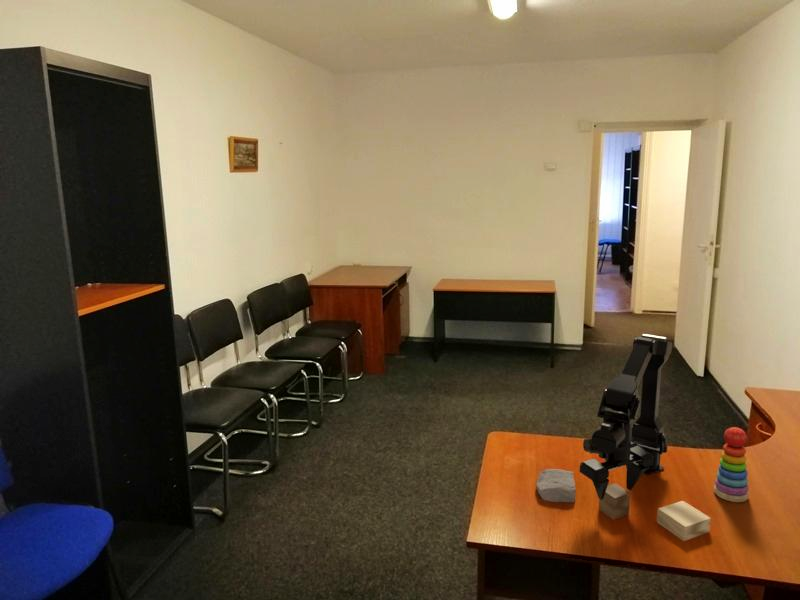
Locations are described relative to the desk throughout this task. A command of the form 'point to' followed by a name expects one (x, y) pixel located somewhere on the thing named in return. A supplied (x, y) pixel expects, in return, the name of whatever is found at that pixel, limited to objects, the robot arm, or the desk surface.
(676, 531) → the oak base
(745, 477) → the stacking toy
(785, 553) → the desk surface
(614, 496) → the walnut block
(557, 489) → the stone block
